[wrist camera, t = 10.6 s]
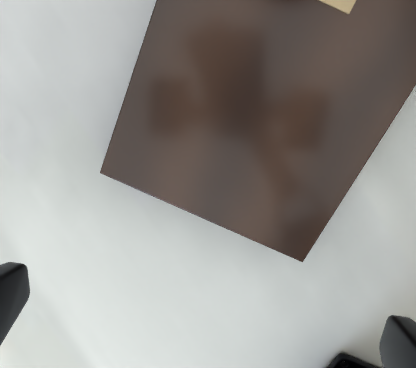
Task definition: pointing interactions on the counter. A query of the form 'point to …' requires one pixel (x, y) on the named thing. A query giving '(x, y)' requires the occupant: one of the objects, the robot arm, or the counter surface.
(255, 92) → the board
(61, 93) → the counter surface
